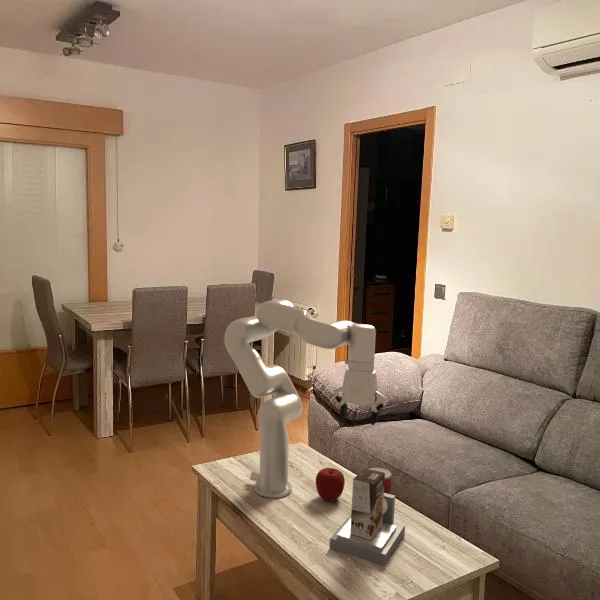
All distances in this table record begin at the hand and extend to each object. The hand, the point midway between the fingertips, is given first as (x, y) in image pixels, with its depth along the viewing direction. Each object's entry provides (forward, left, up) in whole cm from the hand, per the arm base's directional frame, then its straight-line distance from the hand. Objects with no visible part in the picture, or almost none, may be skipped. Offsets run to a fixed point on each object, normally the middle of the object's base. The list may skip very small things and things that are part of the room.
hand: (358, 420), depth 174 cm
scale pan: (+9, -14, -27) cm, 32 cm away
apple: (-11, +6, -31) cm, 33 cm away
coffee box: (+9, -13, -26) cm, 31 cm away
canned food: (+4, +10, -31) cm, 32 cm away
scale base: (+9, -12, -30) cm, 34 cm away
